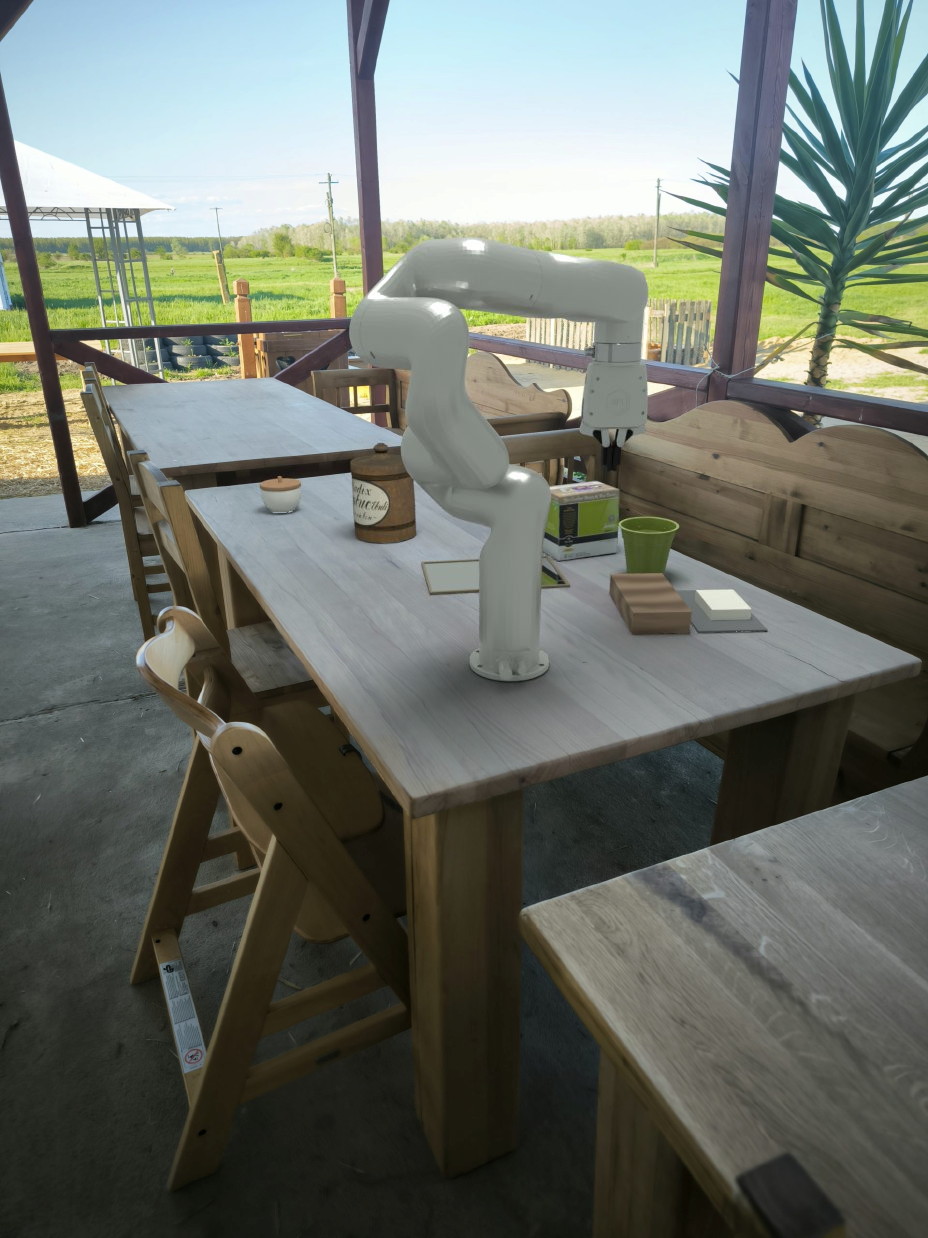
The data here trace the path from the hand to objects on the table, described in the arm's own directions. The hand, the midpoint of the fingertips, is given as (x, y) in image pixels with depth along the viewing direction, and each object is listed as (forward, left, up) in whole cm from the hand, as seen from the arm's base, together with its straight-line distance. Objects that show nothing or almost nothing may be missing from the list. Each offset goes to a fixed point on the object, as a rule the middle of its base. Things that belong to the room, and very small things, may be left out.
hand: (610, 469), depth 136 cm
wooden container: (+56, +42, -27) cm, 75 cm away
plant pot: (+22, -13, -27) cm, 37 cm away
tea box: (+40, -2, -27) cm, 49 cm away
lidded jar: (+80, +71, -27) cm, 110 cm away
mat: (+3, -22, -27) cm, 35 cm away
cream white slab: (+3, -23, -25) cm, 34 cm away
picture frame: (+25, +18, -28) cm, 41 cm away
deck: (+3, -9, -27) cm, 29 cm away
